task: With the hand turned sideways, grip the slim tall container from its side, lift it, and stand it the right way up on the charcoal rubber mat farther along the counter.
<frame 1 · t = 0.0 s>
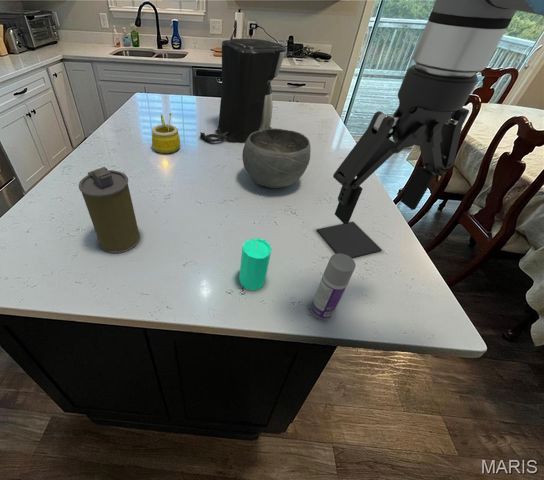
hand: (375, 211, 49), 24 cm above the kitchen island, tool pointing down, fingers open, 13 cm apart
container: (321, 310, 63), on the kitchen island
canister: (119, 239, 77), on the kitchen island
bowl: (271, 182, 100), on the kitchen island
mat: (347, 240, 79), on the kitchen island
coffee maker: (236, 131, 131), on the kitchen island
candle: (252, 280, 68), on the kitchen island
mug: (168, 148, 116), on the kitchen island
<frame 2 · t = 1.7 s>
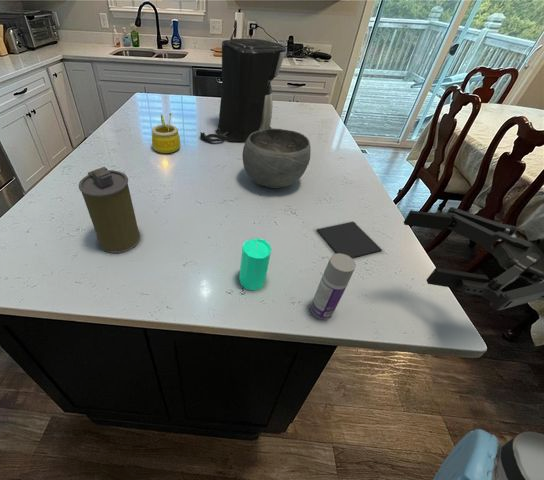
hand: (417, 243, 47), 22 cm above the kitchen island, tool horizontal, fingers open, 13 cm apart
nothing on the kitchen island moved.
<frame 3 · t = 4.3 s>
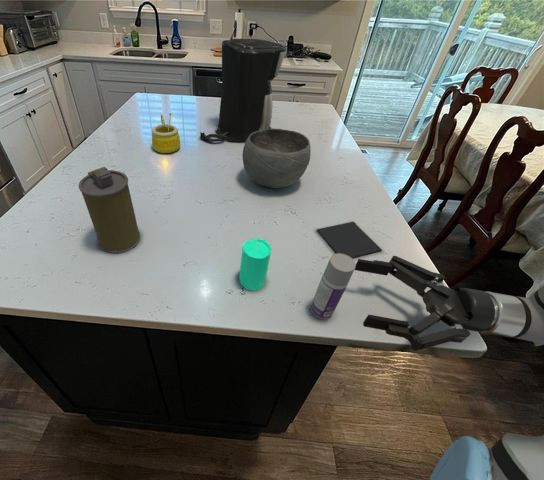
hand: (360, 290, 56), 8 cm above the kitchen island, tool horizontal, fingers open, 13 cm apart
nothing on the kitchen island moved.
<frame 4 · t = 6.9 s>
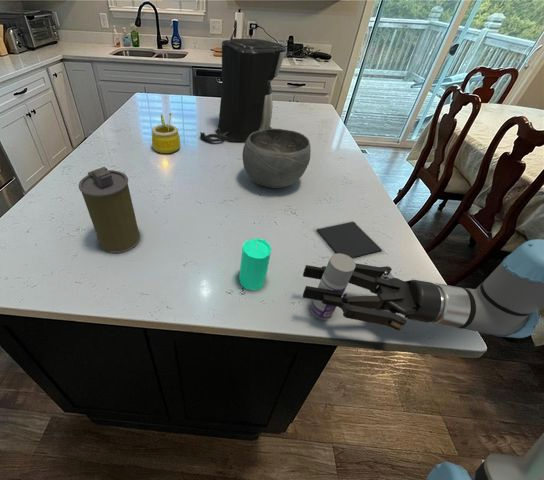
hand: (304, 281, 58), 8 cm above the kitchen island, tool horizontal, fingers closed on container, 5 cm apart
container: (321, 310, 63), on the kitchen island, touching gripper
everything else where it was.
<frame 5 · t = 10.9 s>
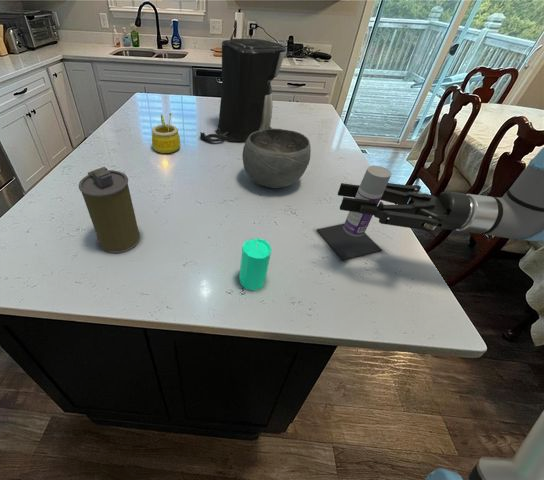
hand: (340, 196, 62), 18 cm above the kitchen island, tool horizontal, fingers closed on container, 5 cm apart
container: (353, 230, 67), point 10 cm above the kitchen island, touching gripper
everything else where it was.
when the fingers open (9 cm above the kitchen island, at t = 14.8 s): container stays where it is, resting on mat.
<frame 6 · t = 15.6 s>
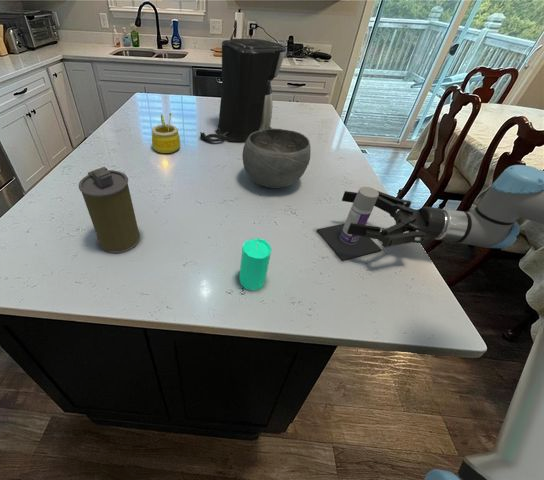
hand: (345, 211, 73), 9 cm above the kitchen island, tool horizontal, fingers open, 13 cm apart
container: (348, 239, 79), resting on mat
everything else where it was.
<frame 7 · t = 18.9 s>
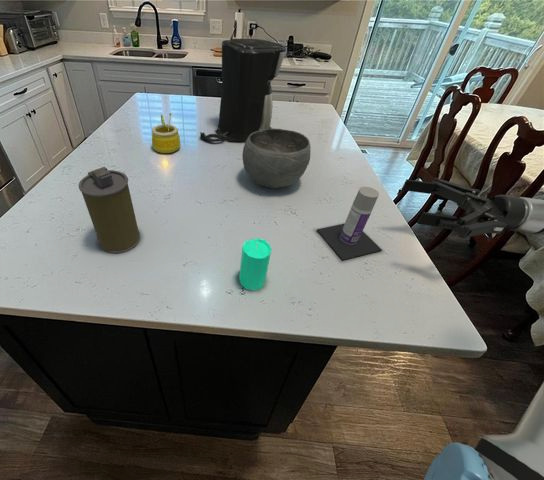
hand: (411, 200, 68), 15 cm above the kitchen island, tool horizontal, fingers open, 13 cm apart
nothing on the kitchen island moved.
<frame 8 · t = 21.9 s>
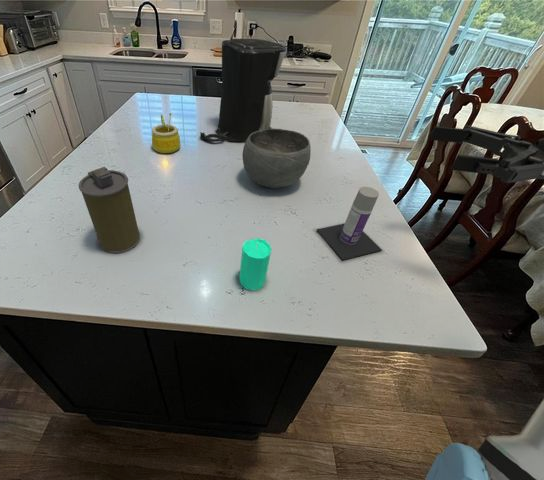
hand: (442, 146, 59), 28 cm above the kitchen island, tool horizontal, fingers open, 13 cm apart
nothing on the kitchen island moved.
at the end: container inside the target area on the mat (0.0 cm from its centre), point 0.4 cm above the mat's base; container tilted 0°; the gripper is holding nothing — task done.
